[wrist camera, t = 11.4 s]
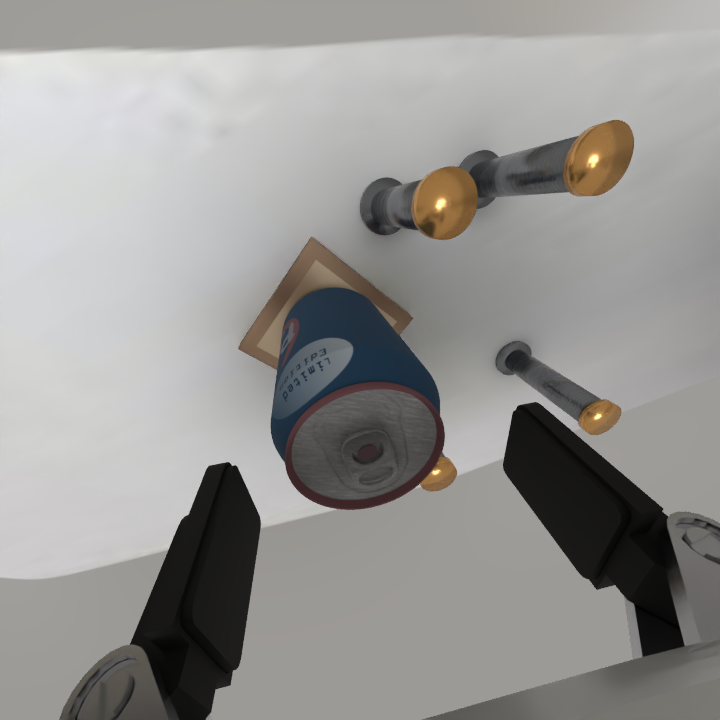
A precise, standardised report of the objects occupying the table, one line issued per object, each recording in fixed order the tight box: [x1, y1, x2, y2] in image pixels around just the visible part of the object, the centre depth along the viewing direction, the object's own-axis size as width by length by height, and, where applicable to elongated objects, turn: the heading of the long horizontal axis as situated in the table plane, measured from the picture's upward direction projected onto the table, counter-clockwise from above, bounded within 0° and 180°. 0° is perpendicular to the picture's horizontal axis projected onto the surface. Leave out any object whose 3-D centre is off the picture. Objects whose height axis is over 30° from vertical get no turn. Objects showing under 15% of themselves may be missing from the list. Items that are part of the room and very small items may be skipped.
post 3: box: [459, 120, 634, 209], centre depth 15 cm, size 3×3×9 cm
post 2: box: [420, 453, 457, 491], centre depth 22 cm, size 3×3×9 cm
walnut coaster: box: [238, 237, 413, 369], centre depth 21 cm, size 9×9×1 cm
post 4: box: [496, 342, 621, 435], centre depth 22 cm, size 3×3×9 cm
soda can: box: [271, 287, 445, 510], centre depth 15 cm, size 7×7×12 cm
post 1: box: [360, 166, 478, 240], centre depth 15 cm, size 3×3×9 cm
